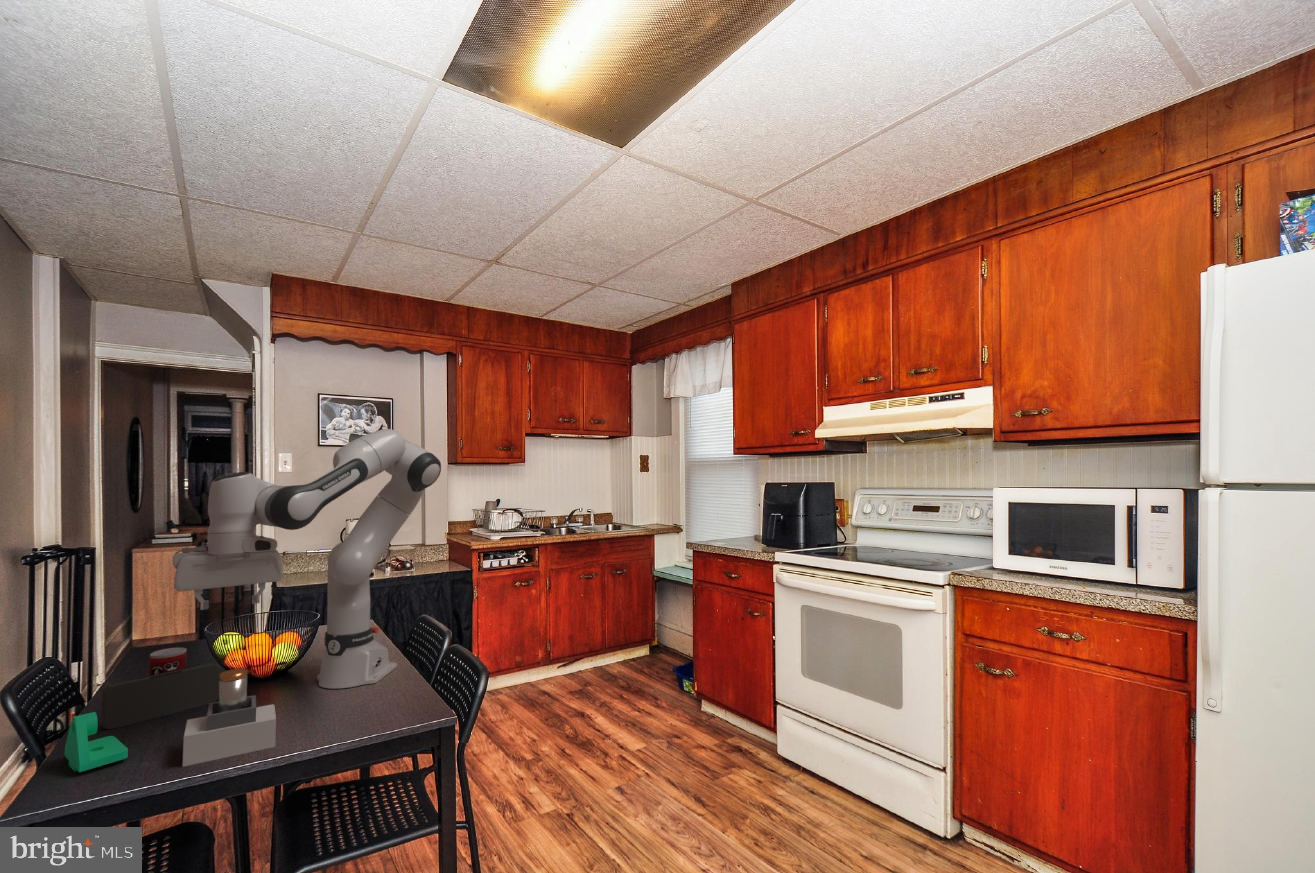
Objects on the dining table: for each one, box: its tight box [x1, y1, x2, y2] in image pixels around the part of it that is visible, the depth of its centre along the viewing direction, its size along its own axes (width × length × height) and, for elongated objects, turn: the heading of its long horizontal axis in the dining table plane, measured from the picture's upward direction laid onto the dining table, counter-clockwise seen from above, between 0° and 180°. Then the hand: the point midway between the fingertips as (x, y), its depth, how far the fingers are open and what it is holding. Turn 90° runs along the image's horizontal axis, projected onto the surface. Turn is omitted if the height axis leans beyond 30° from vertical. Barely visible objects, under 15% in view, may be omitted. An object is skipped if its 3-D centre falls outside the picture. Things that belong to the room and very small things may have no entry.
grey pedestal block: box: [182, 694, 277, 768], centre depth 134 cm, size 16×10×9 cm, turn 124°
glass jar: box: [218, 668, 248, 713], centre depth 134 cm, size 5×5×10 cm
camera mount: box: [64, 711, 129, 773], centre depth 128 cm, size 12×8×10 cm, turn 54°
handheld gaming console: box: [100, 662, 221, 730], centre depth 152 cm, size 23×3×10 cm, turn 143°
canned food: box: [148, 647, 187, 676], centre depth 166 cm, size 8×8×11 cm
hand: (230, 606), depth 138 cm, fingers open, 8 cm apart
